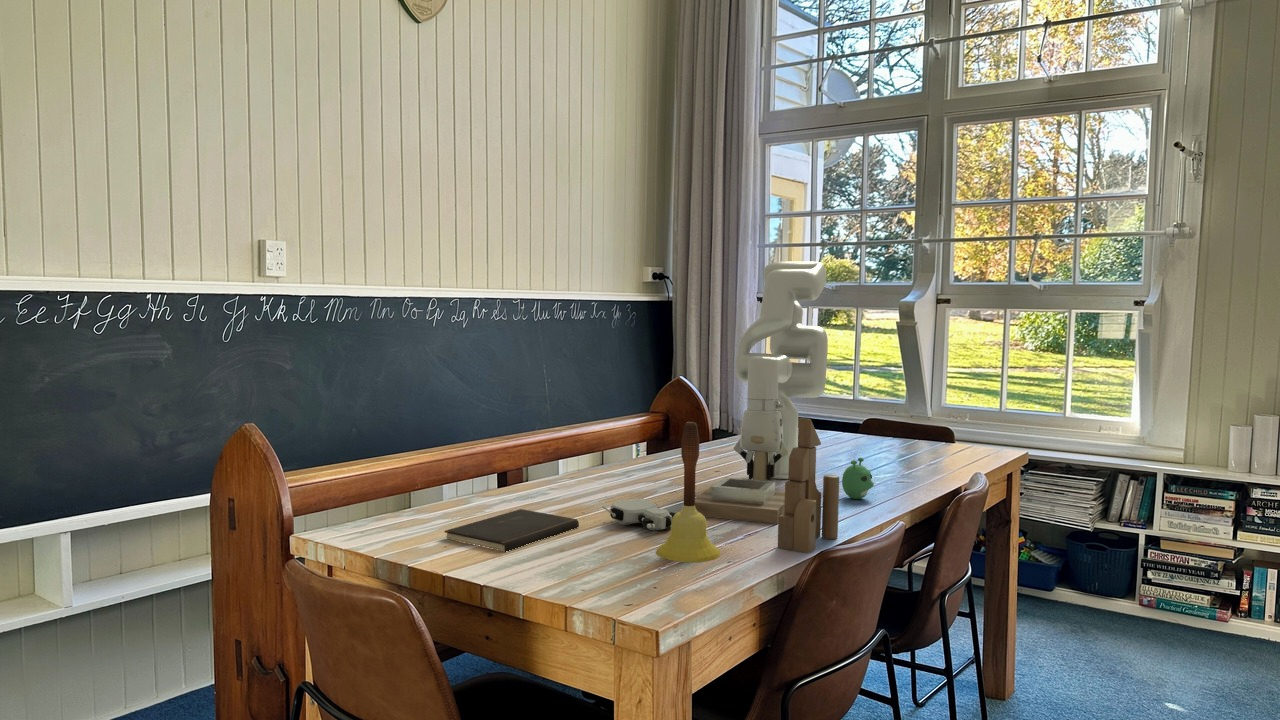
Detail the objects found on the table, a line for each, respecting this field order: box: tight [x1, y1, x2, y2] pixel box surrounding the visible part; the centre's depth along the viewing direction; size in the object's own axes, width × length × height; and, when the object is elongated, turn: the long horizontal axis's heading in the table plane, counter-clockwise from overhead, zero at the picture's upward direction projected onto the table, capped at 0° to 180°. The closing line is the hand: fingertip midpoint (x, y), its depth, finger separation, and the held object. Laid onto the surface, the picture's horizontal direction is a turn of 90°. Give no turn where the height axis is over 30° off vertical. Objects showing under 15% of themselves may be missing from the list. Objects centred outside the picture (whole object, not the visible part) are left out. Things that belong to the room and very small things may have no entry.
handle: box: [751, 436, 768, 481], centre depth 219 cm, size 5×6×15 cm
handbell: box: [655, 421, 722, 563], centre depth 167 cm, size 12×12×25 cm
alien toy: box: [841, 457, 875, 500], centre depth 217 cm, size 7×8×10 cm
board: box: [695, 486, 785, 525], centre depth 204 cm, size 20×20×3 cm
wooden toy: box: [777, 417, 840, 554], centre depth 176 cm, size 15×7×25 cm, turn 145°
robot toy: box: [602, 497, 677, 532], centre depth 188 cm, size 12×4×15 cm
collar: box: [711, 477, 776, 505], centre depth 204 cm, size 12×12×3 cm
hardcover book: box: [444, 508, 580, 553], centre depth 180 cm, size 16×23×2 cm
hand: (760, 478), depth 220 cm, fingers closed on handle, 4 cm apart
